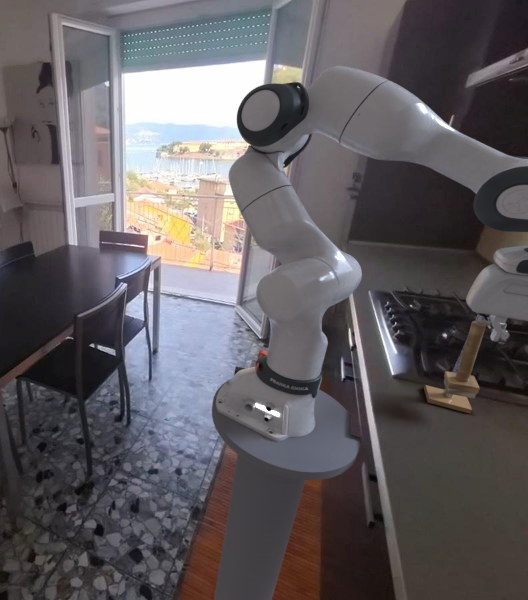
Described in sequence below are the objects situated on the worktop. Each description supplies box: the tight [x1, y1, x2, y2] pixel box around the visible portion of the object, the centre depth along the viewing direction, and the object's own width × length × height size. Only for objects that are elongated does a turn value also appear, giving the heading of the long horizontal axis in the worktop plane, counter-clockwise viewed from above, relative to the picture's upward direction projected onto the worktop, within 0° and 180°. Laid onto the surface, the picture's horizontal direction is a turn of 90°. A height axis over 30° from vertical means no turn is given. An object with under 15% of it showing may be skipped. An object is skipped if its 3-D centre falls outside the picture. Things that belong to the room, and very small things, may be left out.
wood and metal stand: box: [423, 313, 505, 415], centre depth 78 cm, size 8×15×26 cm, turn 149°
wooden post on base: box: [443, 320, 508, 400], centre depth 77 cm, size 7×5×18 cm
